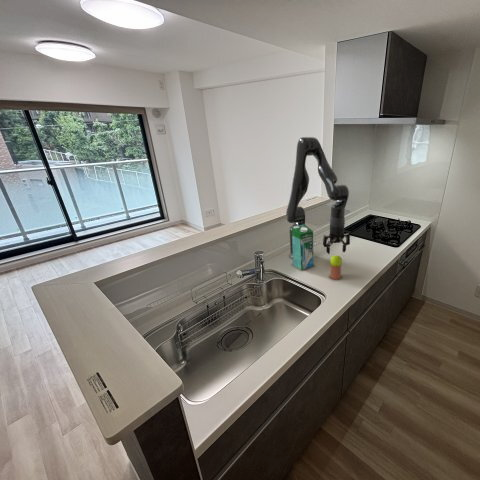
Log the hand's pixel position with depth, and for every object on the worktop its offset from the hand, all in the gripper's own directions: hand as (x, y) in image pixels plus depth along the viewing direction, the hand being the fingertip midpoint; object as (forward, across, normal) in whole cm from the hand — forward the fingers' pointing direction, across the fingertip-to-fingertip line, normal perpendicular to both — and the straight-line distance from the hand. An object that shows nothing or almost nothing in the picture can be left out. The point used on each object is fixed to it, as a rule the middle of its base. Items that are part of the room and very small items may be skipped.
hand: (336, 252), depth 140 cm
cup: (+15, 0, 0) cm, 15 cm away
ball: (+5, 0, 0) cm, 5 cm away
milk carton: (+15, +15, -18) cm, 28 cm away
